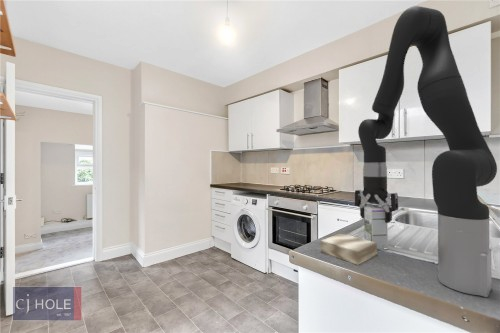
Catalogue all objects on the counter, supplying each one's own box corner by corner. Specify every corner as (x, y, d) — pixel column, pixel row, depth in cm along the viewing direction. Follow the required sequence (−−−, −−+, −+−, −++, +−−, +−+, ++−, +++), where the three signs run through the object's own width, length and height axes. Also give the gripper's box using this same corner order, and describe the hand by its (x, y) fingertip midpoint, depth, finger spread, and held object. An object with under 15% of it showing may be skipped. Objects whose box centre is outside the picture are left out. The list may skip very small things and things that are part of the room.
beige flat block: (376, 254, 75) (376, 242, 75) (358, 265, 68) (357, 251, 68) (340, 243, 85) (340, 233, 85) (321, 251, 78) (320, 240, 78)
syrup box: (388, 249, 79) (388, 208, 79) (371, 249, 79) (371, 208, 79) (379, 243, 85) (379, 205, 84) (363, 243, 85) (363, 205, 84)
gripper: (401, 175, 78) (401, 222, 78) (360, 174, 89) (361, 215, 90) (392, 176, 73) (392, 226, 74) (350, 175, 85) (350, 218, 85)
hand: (375, 220), depth 82 cm, fingers closed on syrup box, 8 cm apart
